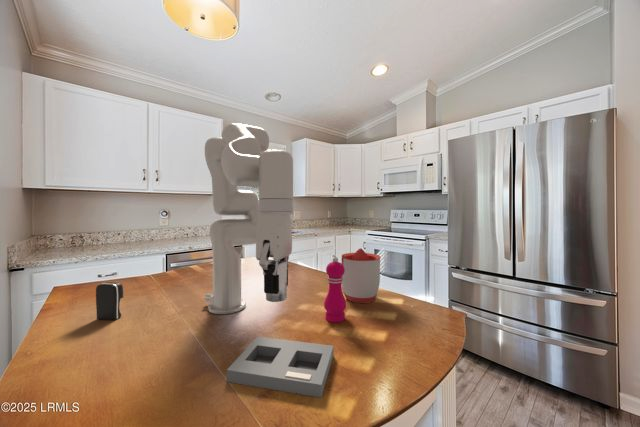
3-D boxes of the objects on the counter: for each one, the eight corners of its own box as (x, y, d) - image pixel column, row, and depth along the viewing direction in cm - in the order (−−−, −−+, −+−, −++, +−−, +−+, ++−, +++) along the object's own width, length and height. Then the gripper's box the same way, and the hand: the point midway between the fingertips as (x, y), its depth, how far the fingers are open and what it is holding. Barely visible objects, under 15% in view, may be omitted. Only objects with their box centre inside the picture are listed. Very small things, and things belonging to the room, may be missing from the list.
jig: (226, 381, 53) (226, 368, 53) (257, 345, 66) (257, 335, 66) (321, 397, 48) (321, 383, 48) (333, 355, 62) (333, 344, 62)
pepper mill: (344, 324, 79) (345, 259, 79) (322, 322, 80) (322, 258, 80) (347, 314, 86) (347, 255, 86) (326, 312, 88) (326, 254, 87)
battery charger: (125, 315, 85) (125, 281, 84) (115, 320, 81) (114, 284, 80) (106, 314, 85) (105, 280, 85) (95, 319, 81) (94, 284, 81)
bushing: (262, 300, 56) (262, 263, 55) (271, 294, 60) (271, 259, 60) (282, 302, 54) (282, 264, 54) (289, 295, 59) (289, 260, 59)
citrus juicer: (335, 291, 110) (335, 245, 109) (376, 292, 109) (376, 245, 109) (336, 305, 94) (336, 251, 93) (384, 306, 93) (384, 251, 93)
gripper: (275, 208, 66) (276, 278, 66) (240, 207, 50) (241, 301, 50) (303, 207, 64) (303, 280, 64) (276, 207, 48) (277, 304, 48)
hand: (276, 288), depth 57 cm, fingers closed on bushing, 4 cm apart
